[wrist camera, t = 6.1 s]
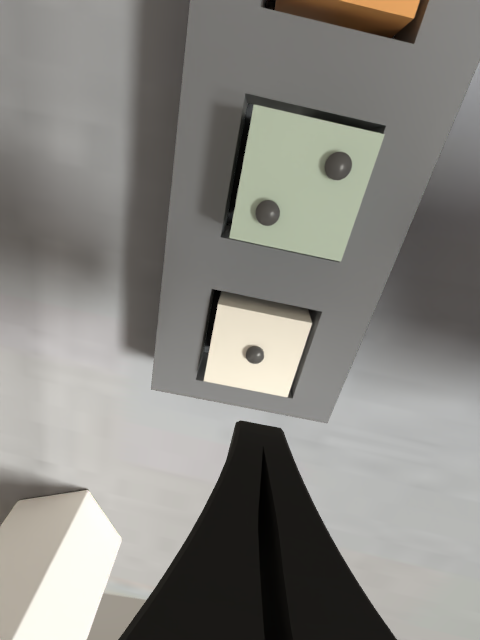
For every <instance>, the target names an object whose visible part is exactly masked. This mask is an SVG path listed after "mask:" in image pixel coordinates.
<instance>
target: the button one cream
mask: <svg viewBox="0 0 480 640" xmlns="http://www.w3.org/2000/svg"><path fill="white" fill-rule="evenodd" d="M311 325H312V321H311V318H310V314H309V311H308V309H307V308H302V307H298V306H293V305H288V304H283V303H278V302H273V301H268V300H264V299H259V298H254V297H249V296H244V295H239V294H234V293H230V292H225V291H221V295H220V298H219V302H218V306H217V312H216V317H215V323H214V328H213V333H212V339H211V344H210V349H209V355H208V360H207V366H206V371H205V376H204V381H205V382H211V383H216V384H221V385H226V386H231V387H236V388H241V389H247V390H252V391H257V392H262V393H267V394H272V395H278V396H283V397H288V394H289V391H290V388H291V385H292V382H293V379H294V376H295V373H296V370H297V367H298V364H299V361H300V358H301V355H302V352H303V349H304V346H305V343H306V340H307V337H308V334H309V331H310V328H311Z"/></svg>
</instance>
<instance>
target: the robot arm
mask: <svg viewBox="0 0 480 640" xmlns="http://www.w3.org/2000/svg"><path fill="white" fill-rule="evenodd" d="M119 640H397V639H396V638H395V636H394V635H393V633H392V632H391V631H390V629H389V628H388V626H387V625H386V624H385V622H384V621H383V619H382V618H381V617H380V615H379V614H378V612H377V611H376V609H375V608H374V606H373V605H372V603H371V602H370V600H369V599H368V597H367V596H366V594H365V593H364V591H363V589H362V588H361V586H360V585H359V583H358V582H357V580H356V579H355V577H354V575H353V574H352V572H351V570H350V569H349V567H348V565H347V564H346V562H345V561H344V559H343V557H342V555H341V554H340V552H339V550H338V549H337V547H336V545H335V543H334V541H333V540H332V538H331V536H330V534H329V532H328V530H327V529H326V527H325V525H324V523H323V521H322V519H321V517H320V515H319V513H318V511H317V509H316V507H315V505H314V503H313V501H312V499H311V497H310V495H309V493H308V490H307V488H306V486H305V484H304V482H303V480H302V477H301V475H300V473H299V471H298V468H297V466H296V463H295V461H294V459H293V456H292V454H291V451H290V448H289V446H288V443H287V440H286V438H285V435H284V432H283V430H282V429H281V428H277V427H272V426H267V425H261V424H256V423H251V422H246V421H239V422H236V425H235V428H234V432H233V436H232V440H231V444H230V448H229V452H228V456H227V460H226V462H225V465H224V467H223V470H222V472H221V474H220V477H219V479H218V481H217V483H216V485H215V487H214V489H213V491H212V493H211V495H210V497H209V499H208V501H207V503H206V505H205V507H204V509H203V511H202V513H201V515H200V516H199V518H198V520H197V522H196V524H195V525H194V527H193V529H192V531H191V532H190V534H189V536H188V537H187V539H186V541H185V542H184V544H183V546H182V547H181V549H180V551H179V552H178V554H177V555H176V557H175V558H174V560H173V562H172V563H171V565H170V566H169V568H168V569H167V571H166V573H165V574H164V576H163V577H162V579H161V580H160V582H159V583H158V585H157V586H156V588H155V589H154V590H153V592H152V593H151V595H150V596H149V598H148V599H147V600H146V602H145V603H144V605H143V606H142V607H141V609H140V610H139V612H138V613H137V615H136V616H135V617H134V619H133V620H132V622H131V623H130V624H129V626H128V627H127V629H126V630H125V632H124V633H123V634H122V635H121V637H120V638H119Z"/></svg>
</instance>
